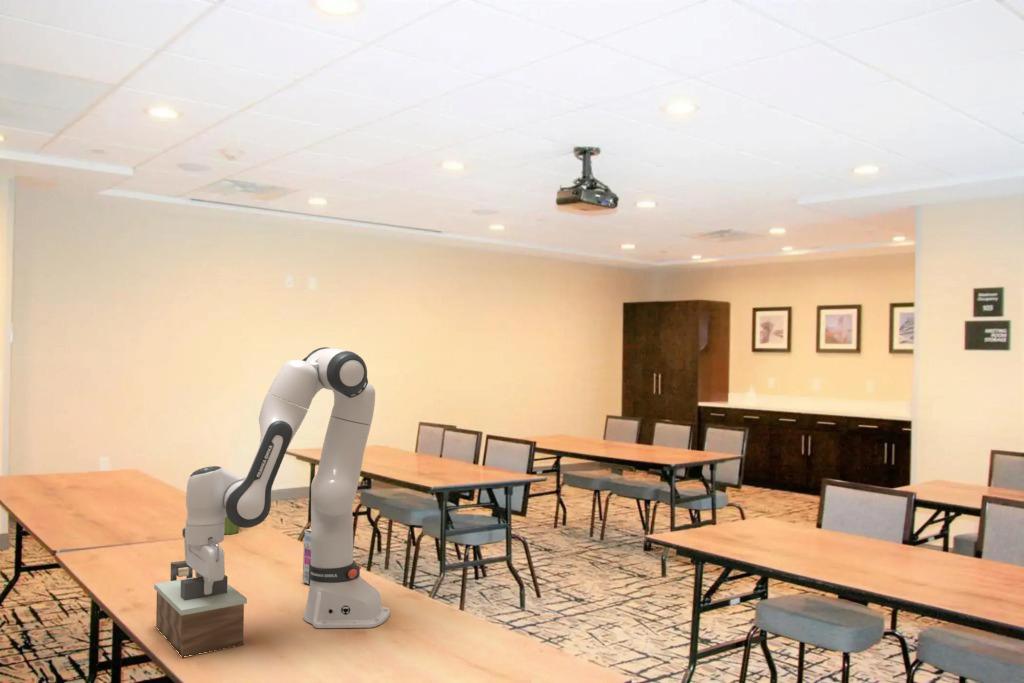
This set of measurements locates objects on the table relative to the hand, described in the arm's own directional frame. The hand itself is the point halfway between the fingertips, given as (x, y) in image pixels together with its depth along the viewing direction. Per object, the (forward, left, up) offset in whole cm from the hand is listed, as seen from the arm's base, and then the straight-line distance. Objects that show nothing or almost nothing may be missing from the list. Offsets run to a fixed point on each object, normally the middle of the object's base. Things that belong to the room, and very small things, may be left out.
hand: (204, 591), depth 189 cm
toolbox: (+5, -5, -12) cm, 14 cm away
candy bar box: (-10, -52, -12) cm, 54 cm away
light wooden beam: (+15, -16, -1) cm, 22 cm away
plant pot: (+49, -107, -12) cm, 118 cm away
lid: (+3, -3, -2) cm, 5 cm away
